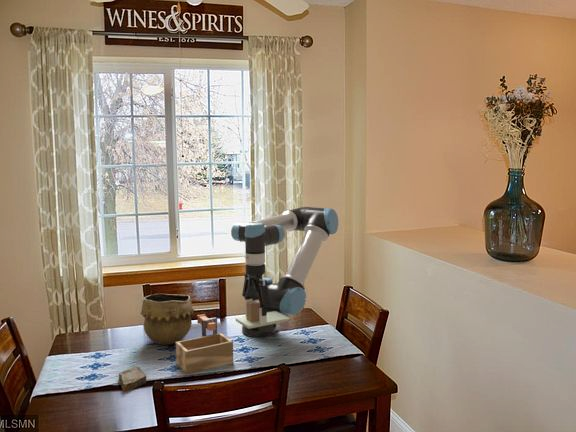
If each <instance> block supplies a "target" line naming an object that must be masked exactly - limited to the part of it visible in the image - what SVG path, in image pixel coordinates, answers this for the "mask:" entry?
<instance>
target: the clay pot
mask: <svg viewBox="0 0 576 432" xmlns="http://www.w3.org/2000/svg"><path fill="white" fill-rule="evenodd" d="M194 312H195V309H194V308H193V303H192V299H191V296H190V294H189V295H188V294H174V293H173V294H171V293H170V294H169V293H155V294H150V295H146V296H144V297H143V300H142V305H141V311H140V315H142V317H143V318H144V320H143V321H144V322H143V329H144V333H145V334H146V336H147V337H148V338H149V339H150V341H152V342H153V343H155V344H158V345H163V346H166V345H167V346H168V345H173V344H176V342H178V341H182V340H183V339H184V338H185V337H186V336H187V335H188V333H189V332H190V330H191V327H192V323H193V322H192V317H191V315H193V314H194Z"/></svg>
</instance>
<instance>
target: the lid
mask: <svg viewBox="0 0 576 432" xmlns="http://www.w3.org/2000/svg"><path fill="white" fill-rule="evenodd" d="M259 307H260V302H259V300H254V301H248V302H246V311H245V314H246V313H247V316H246V315H245V316H241V317H236V318H235V322H236V323H239V324H240V325H243V326H245V327H246V328H248V329H250V328H255V327H260V326H265V325H270V324H275V323H276V324H280V323H284V322H290V321H291V319H290V317H288V315H287V316H286V315H285V314H282V313H279V312H277V311H272V312H267V323H266V324H261V325H260V321H259Z"/></svg>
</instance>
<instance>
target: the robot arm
mask: <svg viewBox="0 0 576 432" xmlns="http://www.w3.org/2000/svg"><path fill="white" fill-rule="evenodd" d="M338 229H339V216H338V213H337V212H336V210H335V209H333V208H329V207H314V206H313V207H312V206H302V207H298V208H293V209H288V210H286V211H283V212H282V213H281V214H278V215H275V216H269V217H267V218H262V219H257V220H253V221H250V222H244V223H243V222H236V223H234V224H233V225H232V226H231V231H230V232H231V235H230V236H231V237H232V239H233V240H234V241H237V242H240V243H241V242H242V243H243V242H244V244H245V247H244V248H245V249H244V250H245V253H244V254H245V256H244V259H245V274H244V280H243V281H244V282H243V288H242V293H241V294H242V295H241V296H242V297H243V298H244V302H245V309H244V311H245V316H247V313H246V302H248V301H254V300H259V302H260V307H259V321H260V325H261V324H266V323H267V312H272V311H277V312H279V313H281V314H283V315H285V316H286V315H287V316H288V315H289V316H294V315H297V314H300V312H301V311H302V310H303V308H304V306H305V305H306V301H307V300H306V299H307V292H306V291H305V290H306V288H305V286H304V284H305V281H306V279H307V277H308V275H309V272H310V271H311V268H312V266H313V263H314V262H315V259H316V258H317V255H318V252H319V250H320V248H321V246H322V244H323V242H325V241H327V240H328V239H329V238H330V235H334V234H336V233H337V232H338ZM285 231H286V232H293V231H297V232H299V231H300V232H304V235H303V238H302V240H301V241H300V244H299V246H298V247H297V249H296V253H295V254H294V257H293V259H292V261H291V262H290V265H289V266H288V268H287V271H286V273H285V275H283V276H280V278H279V280H278V281H277V283H275V282H274V281H273V279H272V277H271V278H270V277H263V275H265V274H266V264H265V263H266V246H267V247H268V246H272V245H277V244H280V243H281V242H282V241H283V240H285V235H286V234H285ZM241 325H242V324H241ZM276 331H278V325H277V323H275V324H270V325H265V326H260V327H255V328H250V329H248V328H246V327H245V326H243V325H242V326H241V332H242V334H243V335H245V336H248V337H251V338H262V337H269V336H273V335H274V333H275V332H276ZM276 333H277V332H276ZM276 333H275V334H276ZM272 334H273V335H272Z"/></svg>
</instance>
